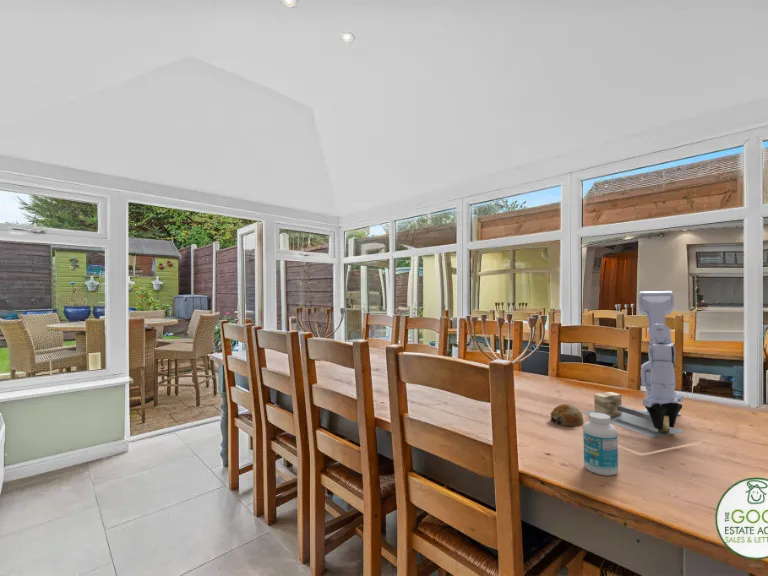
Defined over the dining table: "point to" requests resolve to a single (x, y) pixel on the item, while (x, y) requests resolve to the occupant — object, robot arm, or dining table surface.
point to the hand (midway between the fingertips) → (663, 427)
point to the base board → (638, 424)
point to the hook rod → (645, 416)
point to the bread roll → (567, 415)
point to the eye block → (607, 403)
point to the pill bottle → (600, 445)
